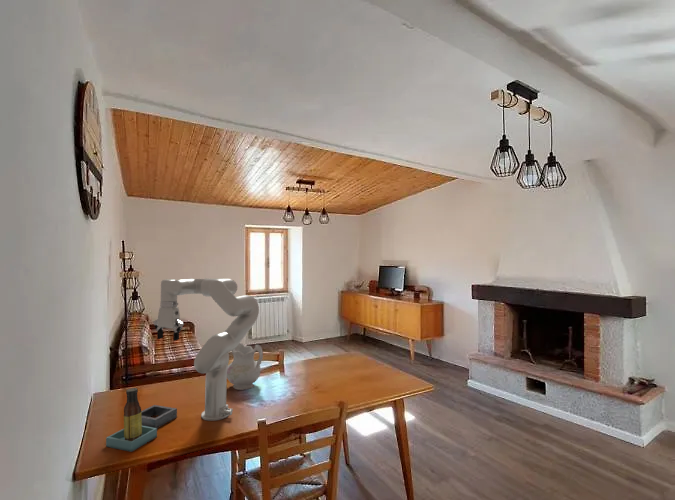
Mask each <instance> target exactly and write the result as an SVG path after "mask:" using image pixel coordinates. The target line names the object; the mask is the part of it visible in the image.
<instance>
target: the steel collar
mask: <svg viewBox="0 0 675 500" xmlns="http://www.w3.org/2000/svg"><path fill="white" fill-rule="evenodd" d="M153 415H154V416H156V417H154V416H153ZM157 415H158V416H157ZM151 416H152V417H151ZM141 418H142V426H147V427H152V428H157V429H159V428H160V427H162V426H165V425H166V424H168V423H169V422H171V421H173V420H175V419H177V418H178V409H177V407H171V406H164V405H157V404H153V405H151V406H149V407H148V408H147V407H146V408H145V409H142V410H141ZM167 422H168V423H167Z"/></svg>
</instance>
